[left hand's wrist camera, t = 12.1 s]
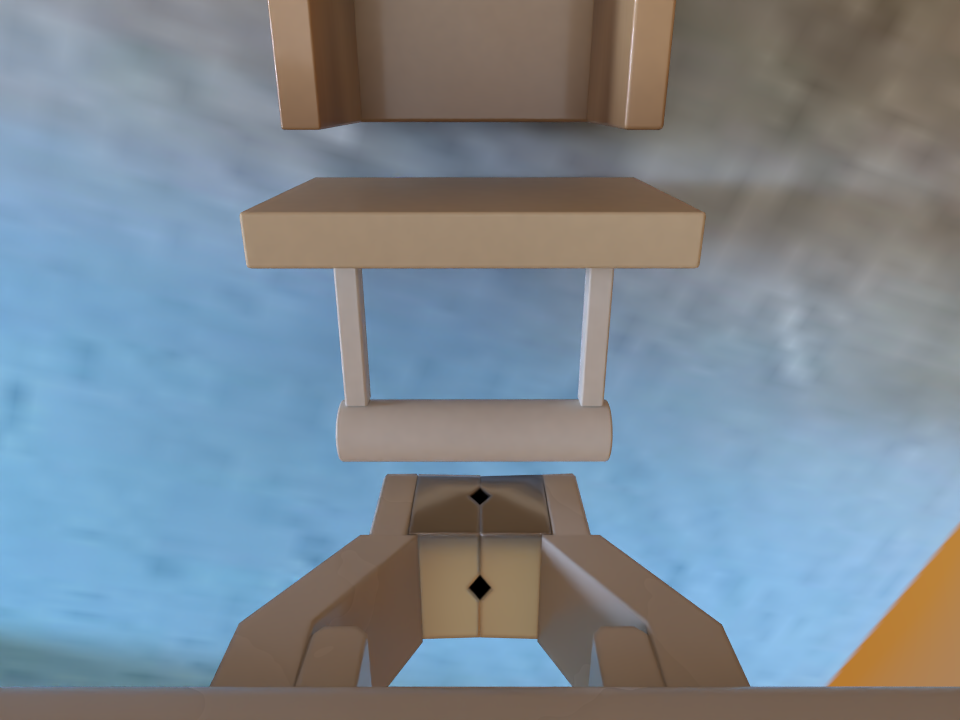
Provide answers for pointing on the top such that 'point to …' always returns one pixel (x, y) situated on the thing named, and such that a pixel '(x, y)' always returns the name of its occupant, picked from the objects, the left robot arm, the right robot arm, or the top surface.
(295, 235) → the drawer
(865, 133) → the top surface
